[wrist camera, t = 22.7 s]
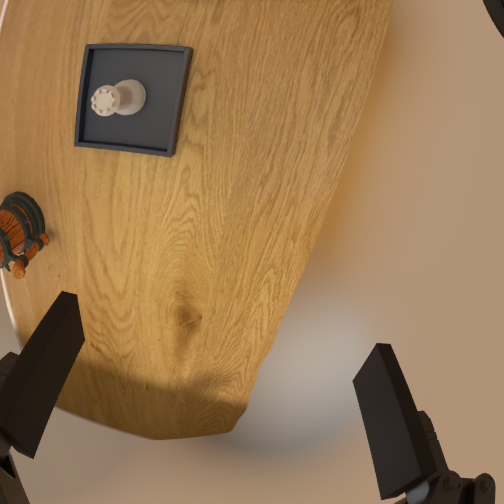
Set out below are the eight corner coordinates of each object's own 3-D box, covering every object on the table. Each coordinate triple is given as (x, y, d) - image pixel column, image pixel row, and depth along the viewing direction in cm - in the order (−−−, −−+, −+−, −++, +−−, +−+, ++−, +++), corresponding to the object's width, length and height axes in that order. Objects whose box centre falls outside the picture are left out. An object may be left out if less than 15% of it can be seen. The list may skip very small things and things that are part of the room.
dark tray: (193, 49, 30) (190, 47, 28) (174, 153, 37) (170, 157, 35) (93, 45, 29) (85, 44, 27) (81, 143, 35) (74, 146, 33)
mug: (2, 235, 42) (-38, 270, 32) (3, 182, 37) (-44, 211, 27) (58, 262, 44) (23, 306, 34) (64, 207, 40) (20, 245, 30)
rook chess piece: (154, 89, 32) (130, 91, 25) (135, 121, 34) (108, 130, 27) (125, 73, 31) (95, 72, 24) (107, 104, 33) (75, 111, 26)
